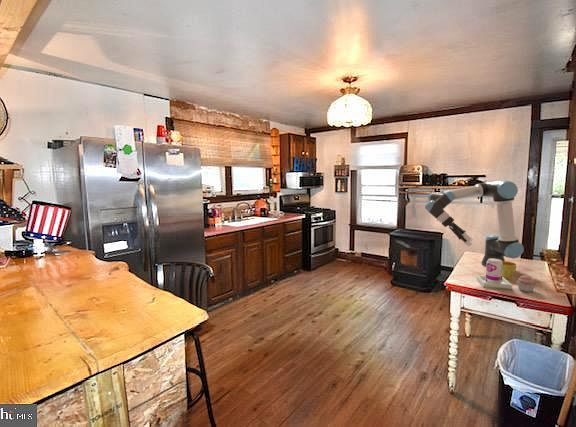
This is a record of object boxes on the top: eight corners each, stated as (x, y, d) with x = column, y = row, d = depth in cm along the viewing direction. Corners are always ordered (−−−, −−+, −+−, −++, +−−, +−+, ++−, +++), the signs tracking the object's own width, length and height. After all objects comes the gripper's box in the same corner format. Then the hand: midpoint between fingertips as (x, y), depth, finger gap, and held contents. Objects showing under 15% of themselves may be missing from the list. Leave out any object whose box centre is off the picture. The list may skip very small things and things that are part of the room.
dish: (476, 279, 192) (476, 275, 192) (502, 281, 188) (503, 277, 187) (483, 287, 179) (483, 282, 178) (511, 289, 174) (512, 285, 174)
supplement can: (494, 286, 178) (496, 262, 176) (482, 281, 186) (483, 258, 184) (504, 284, 181) (506, 261, 179) (491, 280, 189) (493, 257, 187)
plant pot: (511, 281, 188) (512, 266, 187) (493, 276, 197) (494, 262, 196) (518, 277, 194) (519, 263, 193) (500, 273, 203) (501, 260, 201)
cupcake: (526, 287, 178) (527, 271, 177) (540, 293, 169) (541, 276, 167) (511, 287, 178) (512, 271, 176) (524, 293, 168) (525, 277, 167)
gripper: (442, 220, 210) (466, 242, 204) (438, 226, 190) (465, 250, 183) (451, 213, 207) (475, 235, 200) (448, 218, 186) (475, 243, 180)
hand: (470, 243), depth 192 cm, fingers open, 13 cm apart
